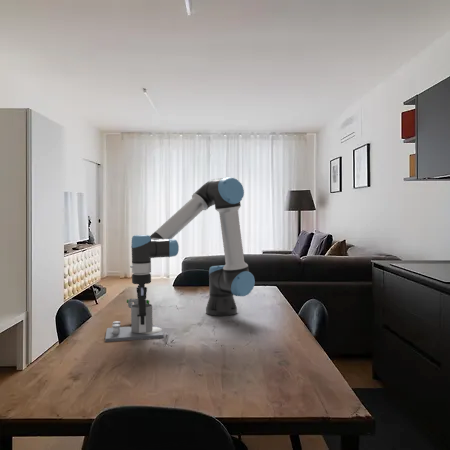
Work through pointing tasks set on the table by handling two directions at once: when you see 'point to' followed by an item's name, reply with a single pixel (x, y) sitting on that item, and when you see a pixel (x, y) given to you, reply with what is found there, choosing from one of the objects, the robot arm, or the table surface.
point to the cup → (136, 319)
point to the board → (131, 333)
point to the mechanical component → (134, 302)
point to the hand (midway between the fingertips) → (142, 329)
